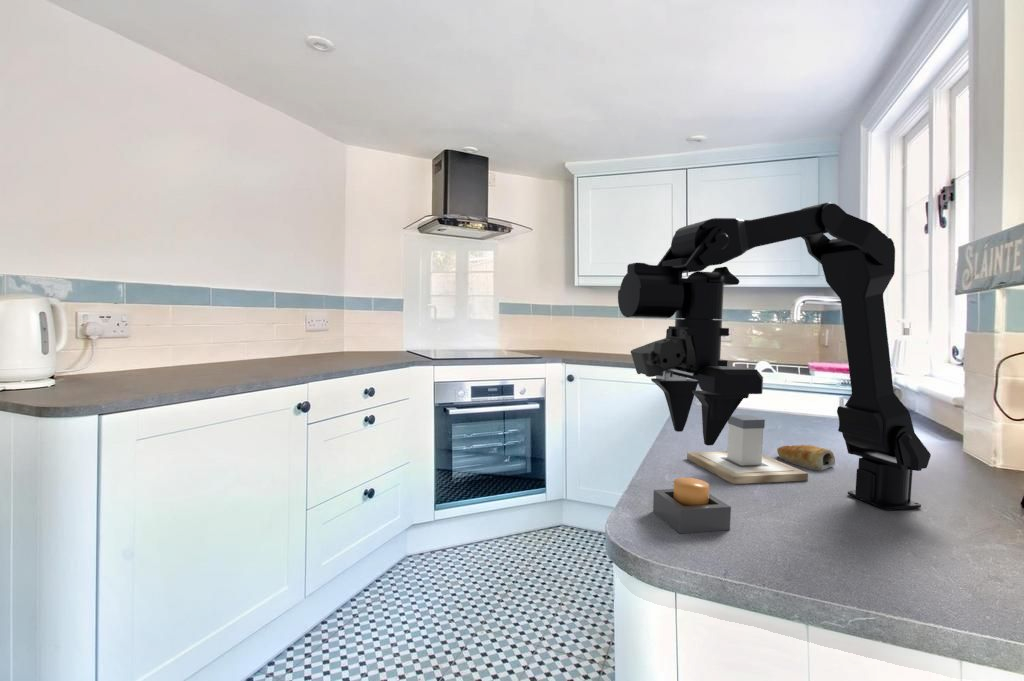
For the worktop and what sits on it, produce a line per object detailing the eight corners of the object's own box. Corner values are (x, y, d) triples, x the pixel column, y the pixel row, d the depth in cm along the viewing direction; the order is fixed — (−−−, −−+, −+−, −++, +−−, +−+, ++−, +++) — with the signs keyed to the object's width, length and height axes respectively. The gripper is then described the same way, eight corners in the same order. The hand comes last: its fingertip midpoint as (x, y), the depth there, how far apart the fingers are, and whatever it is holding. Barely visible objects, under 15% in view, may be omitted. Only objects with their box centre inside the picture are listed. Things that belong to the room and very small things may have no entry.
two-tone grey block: (746, 457, 91) (748, 414, 90) (762, 464, 87) (764, 419, 86) (726, 458, 90) (728, 415, 89) (741, 465, 86) (743, 420, 85)
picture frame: (752, 456, 96) (752, 449, 96) (807, 480, 83) (808, 472, 83) (686, 458, 94) (687, 451, 94) (733, 484, 80) (733, 475, 80)
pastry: (768, 459, 96) (769, 439, 96) (788, 455, 99) (789, 436, 99) (819, 473, 88) (820, 451, 87) (839, 468, 91) (840, 447, 91)
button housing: (698, 508, 69) (699, 487, 69) (729, 529, 63) (731, 506, 62) (653, 511, 68) (653, 489, 68) (679, 533, 61) (680, 509, 61)
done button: (696, 494, 68) (697, 477, 68) (715, 506, 64) (716, 488, 63) (667, 495, 67) (667, 478, 67) (684, 508, 63) (685, 489, 63)
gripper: (612, 317, 72) (608, 423, 72) (679, 319, 53) (672, 460, 54) (682, 319, 74) (677, 422, 75) (769, 321, 55) (762, 457, 56)
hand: (692, 437), depth 65 cm, fingers open, 7 cm apart
